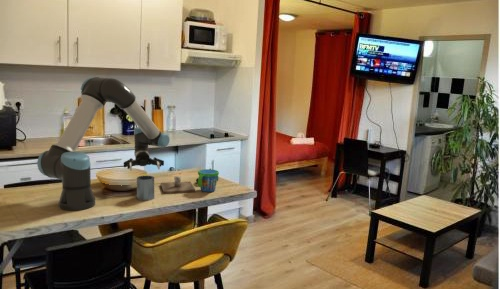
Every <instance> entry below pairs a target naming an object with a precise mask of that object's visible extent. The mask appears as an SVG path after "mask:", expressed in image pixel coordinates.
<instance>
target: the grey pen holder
mask: <svg viewBox="0 0 500 289" xmlns="http://www.w3.org/2000/svg"><path fill="white" fill-rule="evenodd" d="M136 199H137V200H139V201H151V200H154V199H155V177H154V176H152V175H140V176H137V177H136Z"/></svg>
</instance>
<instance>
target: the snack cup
mask: <svg viewBox="0 0 500 289" xmlns="http://www.w3.org/2000/svg"><path fill="white" fill-rule="evenodd" d="M197 174H198V177H197V178H198V182H197V187H199V188H200V190H201V191H202V192H207V193H208V192H209V193H210V192H211V193H212V192H214V191H216V188H217V187H216V186H217V182H219V174H220V173H219V170H217V169H212V168H211V169H210V168H205V169H199V170H198V171H197Z"/></svg>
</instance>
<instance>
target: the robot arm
mask: <svg viewBox="0 0 500 289" xmlns="http://www.w3.org/2000/svg"><path fill="white" fill-rule="evenodd" d="M80 90H81V91H80V94H81V95H80V99H81V102H80V103H79V105H78V107H77V108H76V110H75V112H74V113H73V115H72V116H71V117H72V118H70V120H69V122H68V124H67V125H66V128H64V131H63V132H62V134H61V135H60V138H59V139H58V141H57V142H56V143H53V144H51V146H50V147H49V149H48V150H45V151H43V152H41V154H39V156H38V159H37V160H36V161H37V162H36V163H37V164H36V165H37V169H38V171H39V172H40V174H42V175H44V176H46V177H47V178H51V179H52V178H53V179H57V180H61V184H62V186H61V187H62V188H61V189H62V191H61V194H60V197H59V200H58V208H59V209H61V210H63V209H64V210H65V211H82V210H86V209H89V208H90V209H91V208H92V207H95V205H96V197H95V194H94V193H93V190H92V185H91V184H92V183H91V182H92V181H91V180H92V179H91V160H90V156H89V155H88V154H86V153H84V152H82V151H76V150H77V149H78V147H79V145H80V143H82V142H81V141H82V140H83V138H84V136H85V134H86V132H87V131H88V129H89V127H90V125H91V124H92V122H93V121H94V118H95V116H96V115H97V113H98V112H99V110H102V109H104V107H105V105H106V103H113V104H114V105H116V106H117V107H118V108H119V109H120V110H123V111H124V112H125V113H126V114H127V115H128V116H129V118H130V119H131V120H132V121H133V122H134V123H135V125H136V126H137V127H135V128H134V131H133V132H134V134H133V136H134V139H133V140H134V141H133V142H134V158H135V159H133V157H132V158H129V159H128V160H125V161H124V162H123V168H127V169H128V170H129V171H130V172H132V169H133V167H135V166H140V167H145V166H148V165H149V166H150V165H152V166H156V167H157V170H161V169H160V168H161V167H163V166H165V161H164V160H162V159H161V158H157V157H153V159H152V158H151V157H150V153H149V146H153V147H158V148H166V147H167V146H168V145H169V143H170V136H169V134H167V133H163V132H162V131H161V130H160V129H159V128H158V126H157V125H156V124H155V123H154V121H153V120H152V119H151V118H150V116H149V115H148V114H147V112H146V111H145V110H144V108H143V107H142V106H141V105H140V104H139V103H138V101H137V99H136V95H135V94H134V93H133V92H132V90H131V89H130V88H129V87H128V86H127V85H125V83H123V82H122V81H121V80H118V79H116V78H112V77H99V76H94V77H89V78H87V79H85V80H84V81H83V82H82V84H81V87H80Z"/></svg>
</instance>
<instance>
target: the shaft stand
mask: <svg viewBox="0 0 500 289" xmlns="http://www.w3.org/2000/svg"><path fill="white" fill-rule="evenodd" d="M181 179H182V177H181V176H179V175H178V176H174V181H173V182H160V188H161V190H162V194H163V195H167V194H183V193H196V188H195V187H194V185H193V184H192V182H191V181H181Z"/></svg>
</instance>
